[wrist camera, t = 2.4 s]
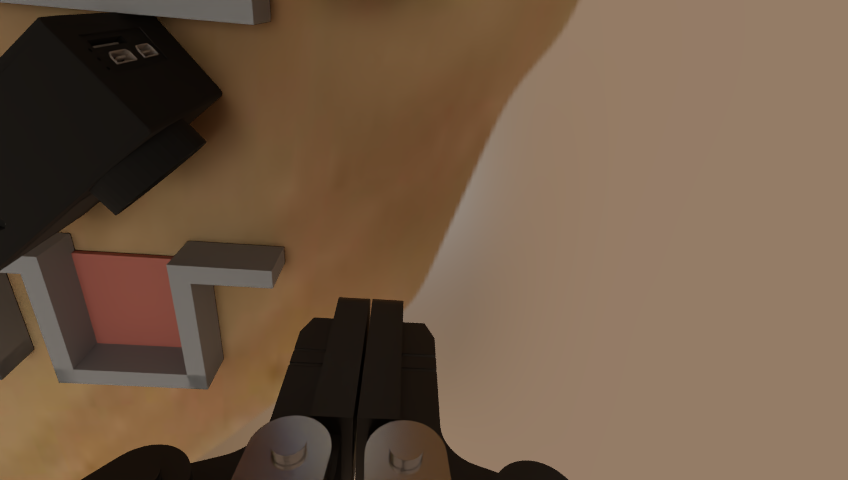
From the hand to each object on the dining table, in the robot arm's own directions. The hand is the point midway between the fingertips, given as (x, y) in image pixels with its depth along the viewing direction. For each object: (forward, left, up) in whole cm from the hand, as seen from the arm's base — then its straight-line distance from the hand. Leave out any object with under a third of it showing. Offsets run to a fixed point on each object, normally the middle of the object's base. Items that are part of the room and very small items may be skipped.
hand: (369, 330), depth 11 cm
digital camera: (0, -13, -14) cm, 19 cm away
